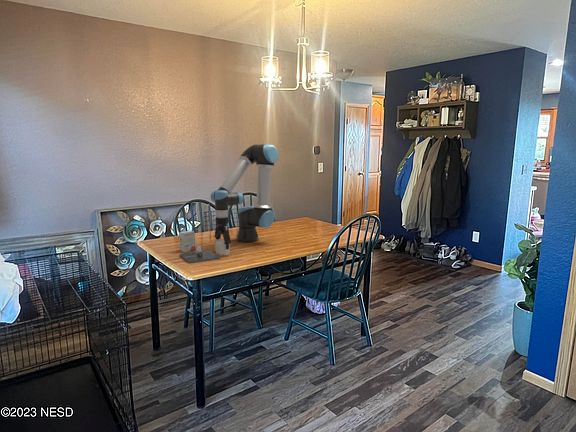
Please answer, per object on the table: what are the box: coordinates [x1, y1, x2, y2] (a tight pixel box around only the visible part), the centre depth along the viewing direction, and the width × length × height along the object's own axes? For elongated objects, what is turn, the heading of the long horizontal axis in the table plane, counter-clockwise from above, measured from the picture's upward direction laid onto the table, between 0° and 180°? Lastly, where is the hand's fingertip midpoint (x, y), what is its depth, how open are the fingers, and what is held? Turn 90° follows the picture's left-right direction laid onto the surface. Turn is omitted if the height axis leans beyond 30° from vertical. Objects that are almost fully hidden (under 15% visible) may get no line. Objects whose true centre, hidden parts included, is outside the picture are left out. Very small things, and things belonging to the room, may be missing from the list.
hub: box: [179, 245, 221, 264], centre depth 225 cm, size 18×18×6 cm
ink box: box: [178, 230, 197, 253], centre depth 240 cm, size 9×5×12 cm, turn 136°
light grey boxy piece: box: [215, 239, 231, 256], centre depth 234 cm, size 8×8×8 cm
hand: (222, 252), depth 235 cm, fingers open, 12 cm apart
